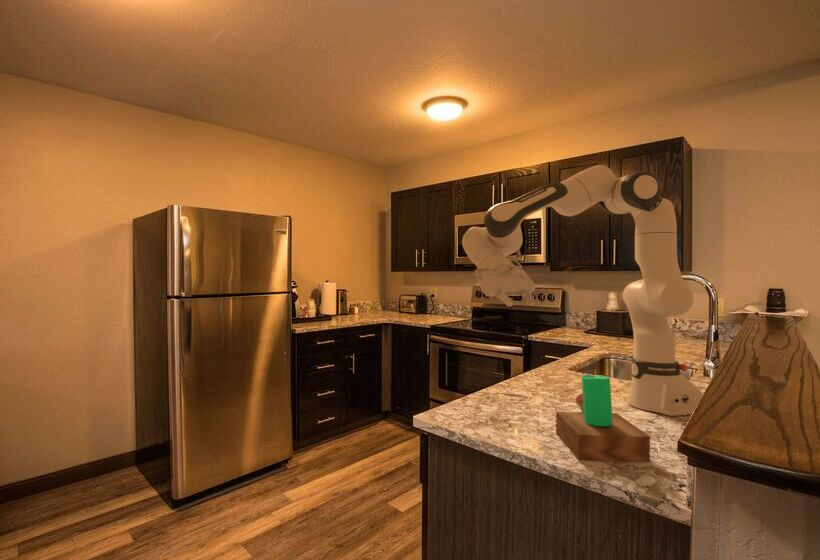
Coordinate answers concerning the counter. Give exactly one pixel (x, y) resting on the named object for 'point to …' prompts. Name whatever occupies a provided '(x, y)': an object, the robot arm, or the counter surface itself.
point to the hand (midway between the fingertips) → (522, 304)
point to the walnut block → (602, 439)
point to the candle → (597, 400)
